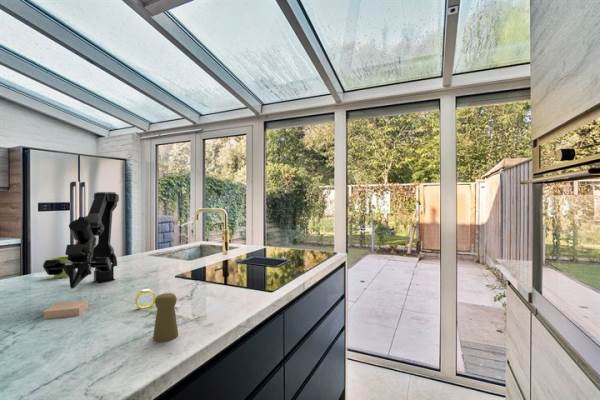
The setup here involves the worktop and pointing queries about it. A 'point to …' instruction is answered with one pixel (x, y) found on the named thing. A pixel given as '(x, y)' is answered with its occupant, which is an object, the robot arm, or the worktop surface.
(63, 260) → the plant pot
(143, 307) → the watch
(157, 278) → the worktop surface
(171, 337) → the cork
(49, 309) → the tile
